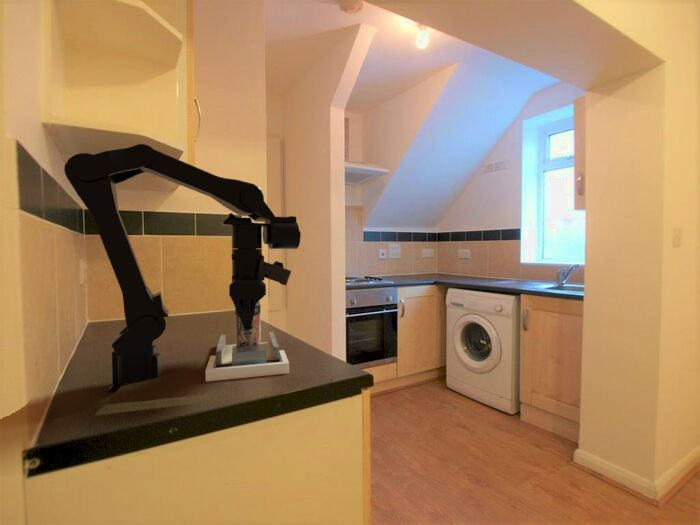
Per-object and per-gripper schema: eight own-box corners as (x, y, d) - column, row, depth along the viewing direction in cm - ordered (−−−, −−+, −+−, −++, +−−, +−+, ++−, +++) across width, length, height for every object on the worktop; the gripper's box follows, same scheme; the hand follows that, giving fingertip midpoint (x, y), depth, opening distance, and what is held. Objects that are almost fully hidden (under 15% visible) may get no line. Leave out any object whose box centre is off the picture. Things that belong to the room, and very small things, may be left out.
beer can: (235, 363, 68) (234, 302, 68) (236, 355, 73) (235, 297, 72) (261, 361, 70) (260, 301, 69) (260, 354, 74) (260, 297, 73)
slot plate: (216, 370, 69) (215, 351, 69) (221, 350, 83) (221, 334, 83) (279, 365, 72) (278, 346, 72) (273, 346, 87) (273, 331, 86)
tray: (205, 388, 60) (205, 370, 60) (210, 371, 68) (210, 355, 68) (289, 379, 64) (289, 362, 64) (284, 364, 72) (283, 349, 72)
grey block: (232, 378, 63) (231, 352, 63) (232, 369, 68) (232, 346, 68) (266, 374, 65) (266, 350, 65) (264, 366, 70) (264, 343, 70)
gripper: (294, 248, 64) (294, 335, 64) (283, 249, 82) (283, 316, 82) (228, 248, 61) (229, 339, 61) (232, 249, 78) (233, 319, 79)
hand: (247, 327), depth 71 cm, fingers closed on beer can, 5 cm apart
